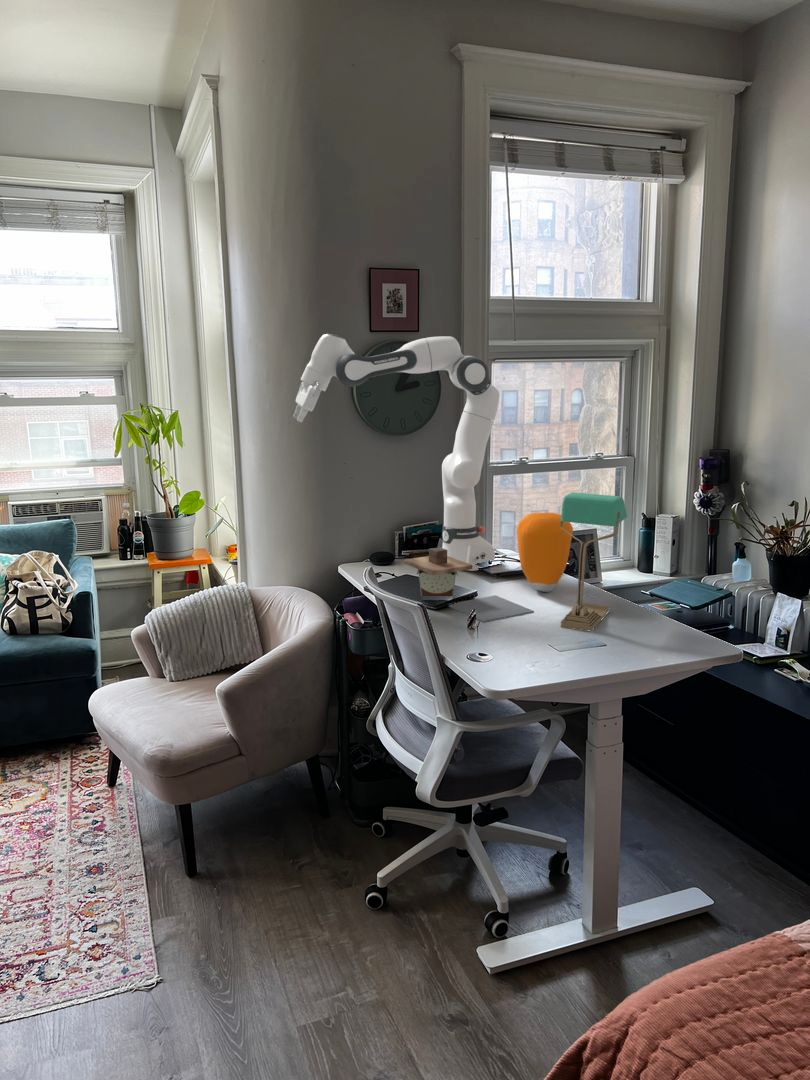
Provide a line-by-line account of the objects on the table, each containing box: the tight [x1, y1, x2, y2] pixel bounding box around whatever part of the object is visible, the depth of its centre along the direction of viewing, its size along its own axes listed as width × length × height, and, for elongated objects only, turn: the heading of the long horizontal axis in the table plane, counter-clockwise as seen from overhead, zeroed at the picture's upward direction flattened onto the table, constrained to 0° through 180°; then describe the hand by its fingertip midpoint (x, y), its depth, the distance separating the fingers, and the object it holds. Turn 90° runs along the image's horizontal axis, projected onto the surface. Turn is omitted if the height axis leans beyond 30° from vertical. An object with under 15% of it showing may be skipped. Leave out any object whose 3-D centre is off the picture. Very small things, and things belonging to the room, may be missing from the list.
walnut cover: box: [403, 546, 472, 575], centre depth 245 cm, size 14×16×5 cm
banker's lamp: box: [560, 492, 628, 632], centre depth 225 cm, size 16×21×35 cm
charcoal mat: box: [448, 595, 535, 623], centre depth 237 cm, size 18×18×1 cm
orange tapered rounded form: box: [516, 512, 574, 593], centre depth 252 cm, size 17×17×25 cm
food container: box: [416, 569, 459, 597], centre depth 247 cm, size 12×6×10 cm, turn 84°
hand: (297, 419), depth 266 cm, fingers open, 8 cm apart
